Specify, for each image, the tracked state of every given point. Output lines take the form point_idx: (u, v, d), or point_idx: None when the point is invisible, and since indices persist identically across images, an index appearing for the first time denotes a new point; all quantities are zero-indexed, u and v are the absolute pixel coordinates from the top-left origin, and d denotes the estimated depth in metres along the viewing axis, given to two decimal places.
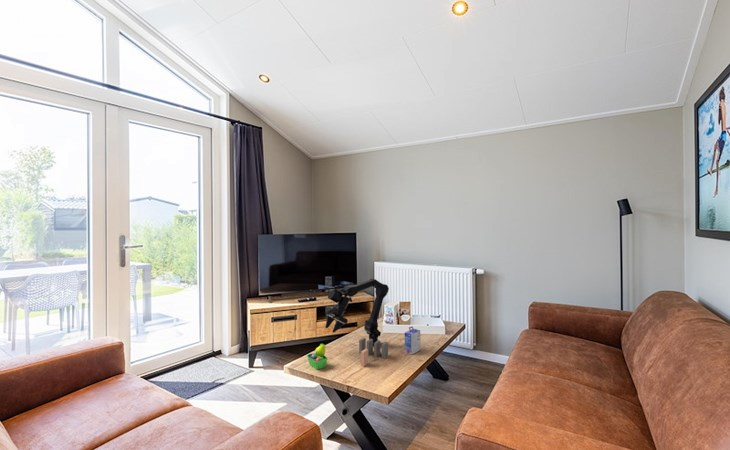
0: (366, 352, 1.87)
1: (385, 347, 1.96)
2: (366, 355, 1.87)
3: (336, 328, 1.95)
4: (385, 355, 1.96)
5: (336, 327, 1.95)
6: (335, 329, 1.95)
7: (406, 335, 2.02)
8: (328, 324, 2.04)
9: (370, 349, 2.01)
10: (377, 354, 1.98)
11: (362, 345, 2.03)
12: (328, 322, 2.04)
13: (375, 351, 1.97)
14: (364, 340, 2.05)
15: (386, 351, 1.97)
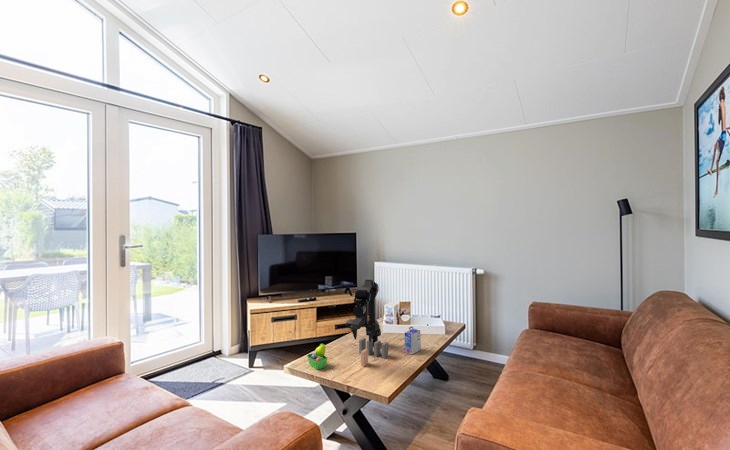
0: (366, 352, 1.87)
1: (385, 347, 1.96)
2: (366, 355, 1.87)
3: (371, 337, 1.84)
4: (385, 355, 1.96)
5: (371, 336, 1.83)
6: (371, 338, 1.84)
7: (406, 335, 2.02)
8: (355, 334, 1.89)
9: (370, 349, 2.01)
10: (377, 354, 1.98)
11: (362, 345, 2.03)
12: (355, 332, 1.89)
13: (375, 351, 1.97)
14: (364, 340, 2.05)
15: (386, 351, 1.97)
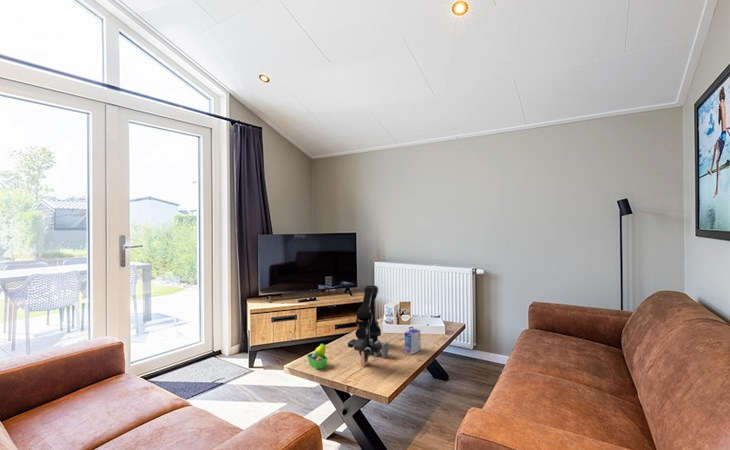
0: None
1: (385, 347, 1.96)
2: None
3: (367, 356, 1.86)
4: (385, 355, 1.96)
5: (367, 356, 1.85)
6: (367, 358, 1.86)
7: (406, 335, 2.02)
8: None
9: None
10: (377, 354, 1.98)
11: None
12: None
13: None
14: None
15: (386, 351, 1.97)
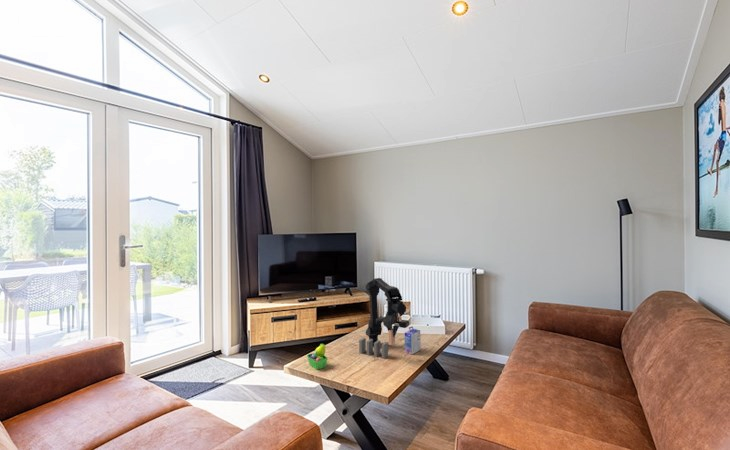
0: None
1: (385, 347, 1.96)
2: None
3: (395, 332, 1.94)
4: (385, 355, 1.96)
5: (395, 331, 1.93)
6: (395, 333, 1.94)
7: (406, 335, 2.02)
8: None
9: (370, 349, 2.01)
10: (377, 354, 1.98)
11: (362, 345, 2.03)
12: None
13: (375, 351, 1.97)
14: (364, 340, 2.05)
15: (386, 351, 1.97)
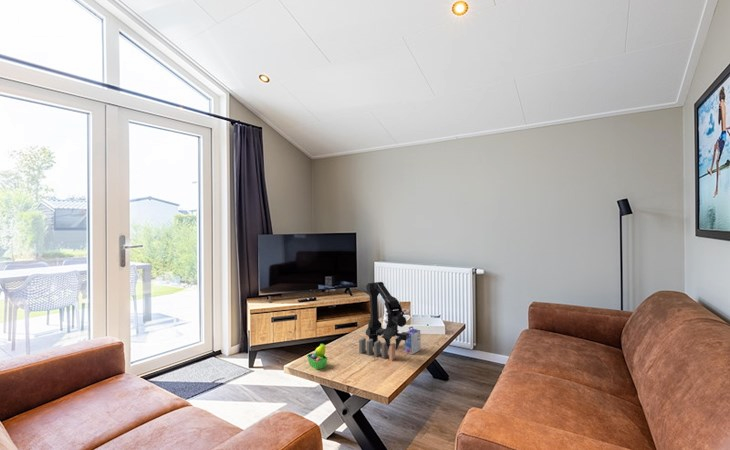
0: (394, 346, 1.94)
1: (385, 347, 1.96)
2: (394, 349, 1.94)
3: (398, 345, 1.93)
4: (385, 355, 1.96)
5: (398, 344, 1.92)
6: (397, 346, 1.93)
7: None
8: (389, 343, 1.96)
9: (370, 349, 2.01)
10: (377, 354, 1.98)
11: (362, 345, 2.03)
12: (388, 342, 1.95)
13: (375, 351, 1.97)
14: (364, 340, 2.05)
15: (386, 351, 1.97)
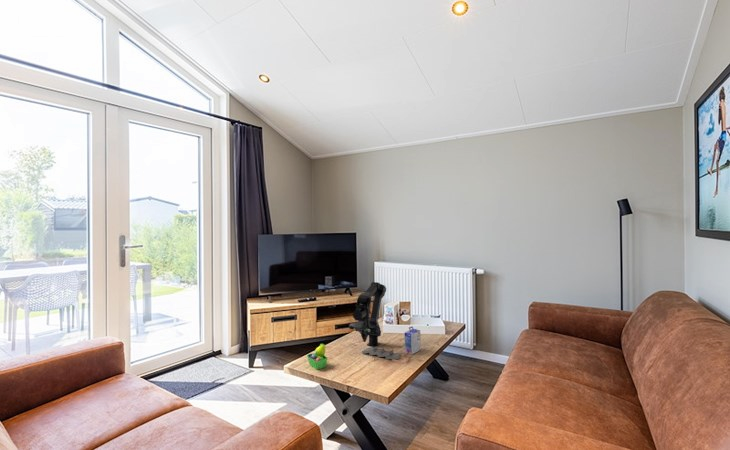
0: None
1: None
2: None
3: (366, 337, 2.03)
4: None
5: (366, 336, 2.03)
6: (366, 338, 2.03)
7: (406, 335, 2.02)
8: None
9: None
10: None
11: None
12: None
13: (382, 355, 1.95)
14: None
15: None
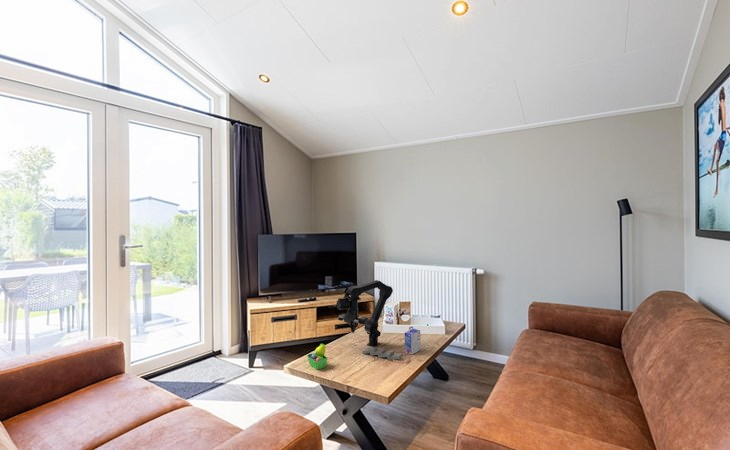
0: None
1: None
2: None
3: (355, 328, 2.08)
4: None
5: (354, 327, 2.08)
6: (354, 329, 2.08)
7: (406, 335, 2.02)
8: None
9: None
10: None
11: None
12: (352, 327, 2.08)
13: (382, 356, 1.95)
14: None
15: None
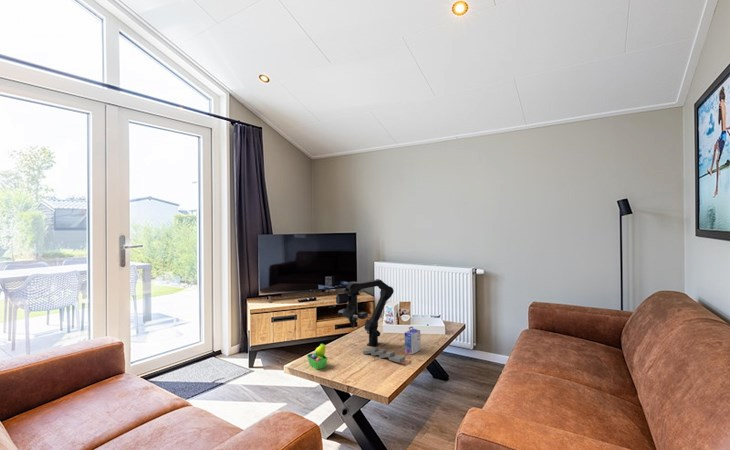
0: None
1: None
2: None
3: (354, 323, 2.09)
4: None
5: (354, 322, 2.09)
6: (354, 324, 2.09)
7: (406, 335, 2.02)
8: None
9: None
10: None
11: None
12: None
13: (383, 356, 1.94)
14: None
15: None
